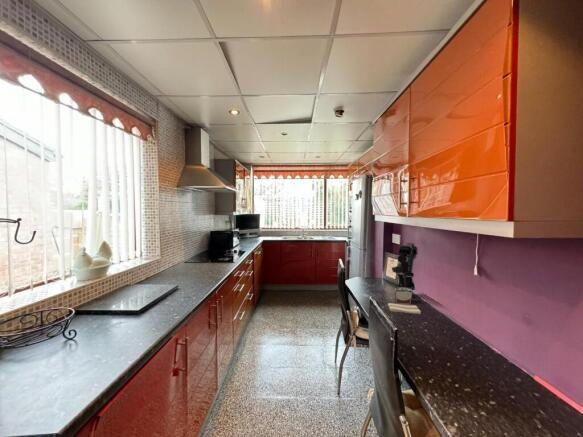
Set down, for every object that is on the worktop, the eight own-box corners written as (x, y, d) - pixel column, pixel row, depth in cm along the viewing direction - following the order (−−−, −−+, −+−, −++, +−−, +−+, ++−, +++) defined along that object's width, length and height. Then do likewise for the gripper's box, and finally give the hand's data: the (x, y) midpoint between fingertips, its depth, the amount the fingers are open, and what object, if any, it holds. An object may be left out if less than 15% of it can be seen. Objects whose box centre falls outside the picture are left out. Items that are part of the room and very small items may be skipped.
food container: (409, 301, 190) (409, 287, 189) (412, 304, 184) (412, 290, 183) (392, 300, 191) (392, 286, 191) (394, 303, 185) (394, 289, 185)
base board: (388, 304, 182) (388, 303, 181) (415, 307, 178) (415, 305, 178) (391, 311, 170) (391, 309, 170) (420, 313, 166) (421, 311, 166)
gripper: (389, 261, 197) (387, 282, 195) (398, 262, 178) (396, 285, 177) (404, 262, 196) (402, 283, 195) (414, 264, 178) (413, 287, 176)
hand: (403, 285), depth 185 cm, fingers open, 9 cm apart
